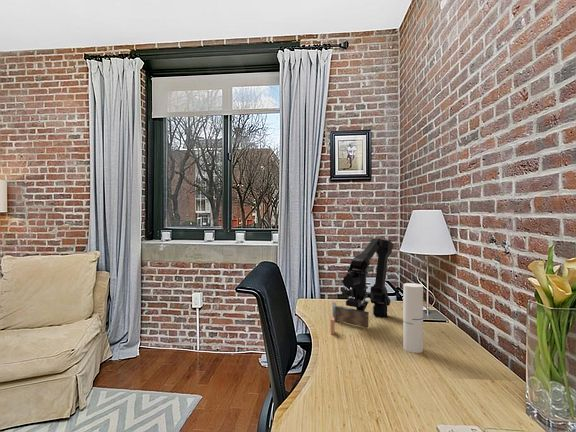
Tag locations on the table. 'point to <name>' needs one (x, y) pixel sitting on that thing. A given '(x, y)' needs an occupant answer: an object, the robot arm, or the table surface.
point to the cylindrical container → (413, 317)
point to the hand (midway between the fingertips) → (360, 317)
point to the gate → (352, 316)
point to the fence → (333, 319)
